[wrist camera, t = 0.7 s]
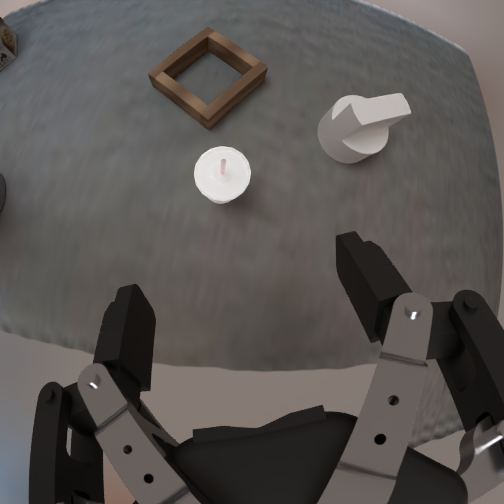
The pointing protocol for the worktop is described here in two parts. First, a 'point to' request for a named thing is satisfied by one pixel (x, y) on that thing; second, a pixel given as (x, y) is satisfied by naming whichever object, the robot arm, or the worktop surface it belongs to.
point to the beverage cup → (222, 174)
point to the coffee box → (7, 44)
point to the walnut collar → (188, 54)
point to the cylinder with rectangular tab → (359, 125)
